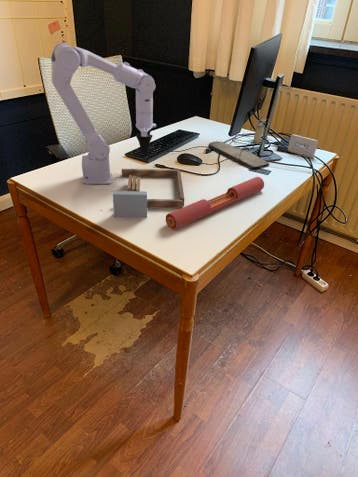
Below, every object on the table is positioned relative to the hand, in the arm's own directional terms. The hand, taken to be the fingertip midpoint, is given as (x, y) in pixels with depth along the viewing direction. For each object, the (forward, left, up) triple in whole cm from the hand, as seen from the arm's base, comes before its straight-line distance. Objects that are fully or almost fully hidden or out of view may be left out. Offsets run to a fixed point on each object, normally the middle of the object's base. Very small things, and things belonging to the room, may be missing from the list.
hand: (144, 149), depth 130 cm
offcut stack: (-4, -14, -10) cm, 17 cm away
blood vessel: (+25, -25, -10) cm, 36 cm away
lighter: (+54, +39, -10) cm, 67 cm away
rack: (+2, -14, -9) cm, 17 cm away
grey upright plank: (-4, -31, -10) cm, 33 cm away
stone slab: (+39, +20, -10) cm, 45 cm away
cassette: (+69, +23, -10) cm, 73 cm away
